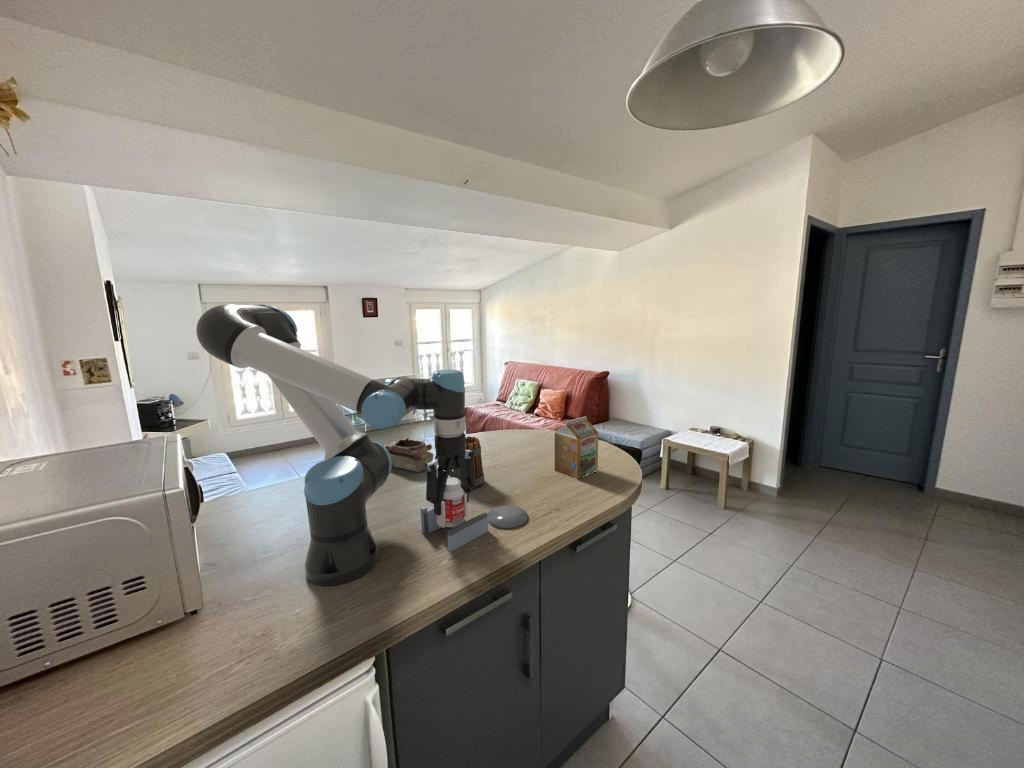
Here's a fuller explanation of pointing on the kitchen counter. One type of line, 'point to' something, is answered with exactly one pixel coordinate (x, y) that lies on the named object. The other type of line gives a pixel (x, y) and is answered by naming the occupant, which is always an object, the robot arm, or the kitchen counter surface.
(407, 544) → the kitchen counter surface
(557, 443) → the milk carton
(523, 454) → the kitchen counter surface
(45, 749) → the kitchen counter surface
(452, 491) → the pill bottle
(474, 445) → the mug
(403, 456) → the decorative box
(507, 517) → the coaster
